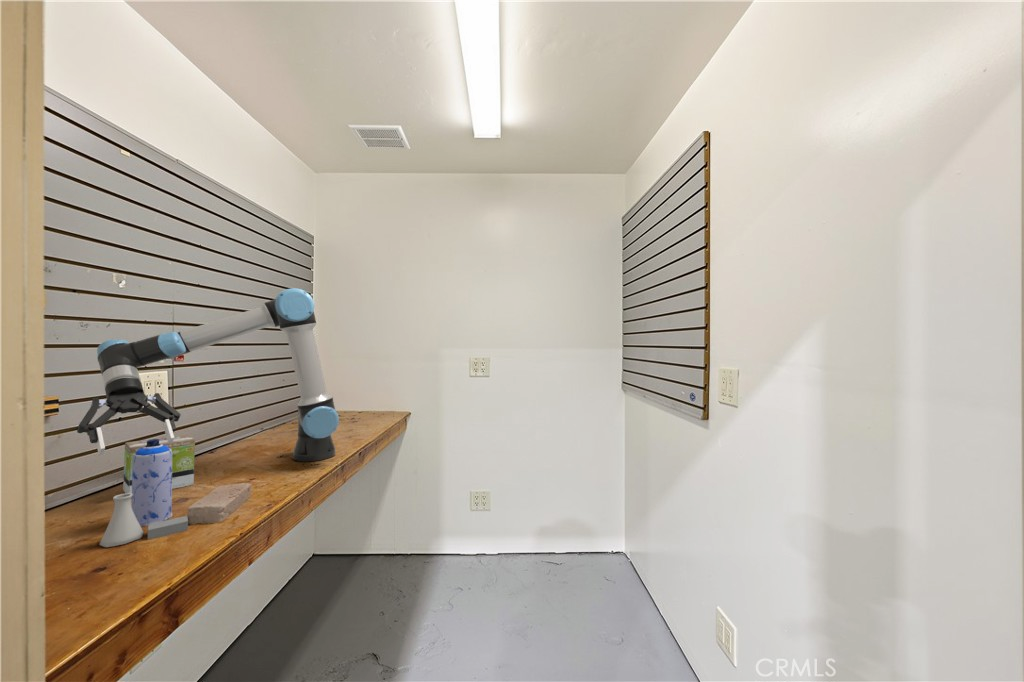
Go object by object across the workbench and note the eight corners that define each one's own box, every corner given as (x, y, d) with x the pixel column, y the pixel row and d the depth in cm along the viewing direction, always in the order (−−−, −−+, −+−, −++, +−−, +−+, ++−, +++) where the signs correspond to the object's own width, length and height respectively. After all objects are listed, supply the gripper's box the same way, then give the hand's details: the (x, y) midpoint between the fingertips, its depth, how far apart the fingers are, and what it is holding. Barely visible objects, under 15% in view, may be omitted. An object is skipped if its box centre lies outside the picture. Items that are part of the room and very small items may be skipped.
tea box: (128, 499, 113) (129, 447, 113) (122, 491, 119) (123, 442, 119) (194, 485, 124) (195, 438, 125) (186, 478, 131) (186, 433, 131)
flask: (141, 529, 94) (141, 487, 95) (146, 539, 90) (147, 494, 90) (97, 541, 89) (98, 496, 89) (101, 551, 84) (101, 504, 84)
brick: (222, 523, 98) (223, 504, 98) (184, 526, 97) (184, 506, 97) (252, 498, 115) (252, 482, 115) (219, 500, 113) (219, 484, 113)
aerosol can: (177, 517, 101) (178, 438, 101) (136, 529, 94) (137, 445, 95) (165, 510, 105) (166, 435, 105) (125, 521, 99) (126, 441, 99)
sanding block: (187, 525, 97) (187, 515, 97) (187, 531, 94) (187, 521, 94) (148, 534, 92) (148, 524, 92) (147, 541, 89) (147, 530, 89)
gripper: (175, 389, 124) (192, 444, 116) (54, 398, 103) (65, 466, 95) (181, 373, 121) (200, 428, 113) (59, 379, 101) (70, 447, 92)
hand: (138, 446), depth 104 cm, fingers open, 13 cm apart
